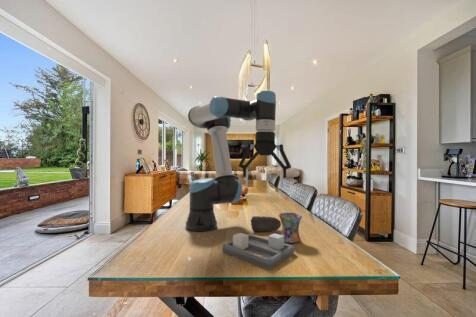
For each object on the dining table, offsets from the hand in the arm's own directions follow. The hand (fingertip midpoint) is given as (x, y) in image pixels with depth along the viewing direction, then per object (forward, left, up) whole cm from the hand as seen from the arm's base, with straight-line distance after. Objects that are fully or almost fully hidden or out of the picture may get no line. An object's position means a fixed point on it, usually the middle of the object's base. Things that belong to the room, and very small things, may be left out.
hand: (264, 186), depth 92 cm
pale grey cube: (+8, -4, -21) cm, 23 cm away
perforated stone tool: (-9, +15, -24) cm, 30 cm away
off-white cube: (-2, -12, -21) cm, 24 cm away
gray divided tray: (+3, -8, -23) cm, 24 cm away
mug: (+5, +12, -23) cm, 27 cm away
